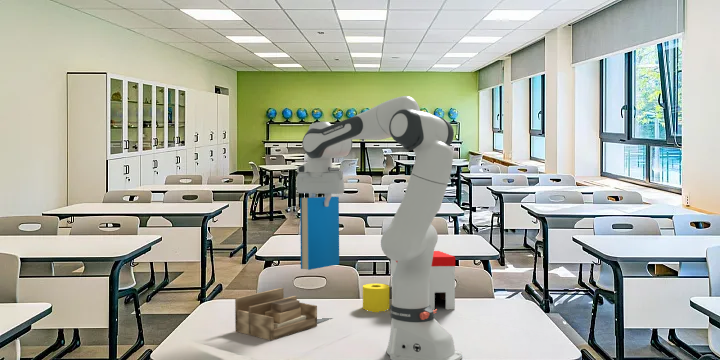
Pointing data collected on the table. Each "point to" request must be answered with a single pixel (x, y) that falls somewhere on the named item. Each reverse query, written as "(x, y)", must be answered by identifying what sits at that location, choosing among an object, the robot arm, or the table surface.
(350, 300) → the table surface
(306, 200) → the book
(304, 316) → the offcut large
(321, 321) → the mat
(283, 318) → the offcut medium
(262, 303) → the rack
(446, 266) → the red-lidded white box
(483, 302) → the table surface
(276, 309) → the offcut small
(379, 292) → the tape roll
